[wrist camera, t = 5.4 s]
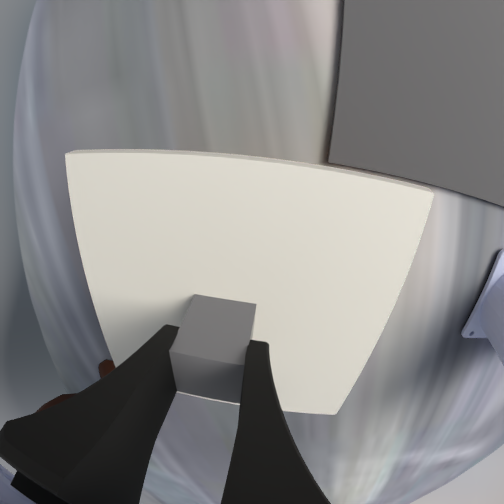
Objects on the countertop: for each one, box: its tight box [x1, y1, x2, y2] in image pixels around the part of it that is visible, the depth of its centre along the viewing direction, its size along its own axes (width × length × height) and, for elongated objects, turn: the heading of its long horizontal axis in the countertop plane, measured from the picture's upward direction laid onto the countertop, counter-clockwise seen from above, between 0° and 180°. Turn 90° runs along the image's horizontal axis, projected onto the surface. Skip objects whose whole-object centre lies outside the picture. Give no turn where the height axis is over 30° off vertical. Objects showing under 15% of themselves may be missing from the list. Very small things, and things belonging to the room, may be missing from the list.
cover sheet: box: [65, 149, 434, 415], centre depth 11 cm, size 13×13×4 cm
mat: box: [327, 0, 504, 207], centre depth 11 cm, size 16×16×1 cm
